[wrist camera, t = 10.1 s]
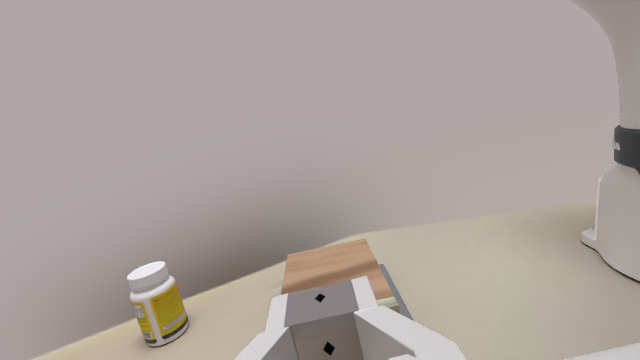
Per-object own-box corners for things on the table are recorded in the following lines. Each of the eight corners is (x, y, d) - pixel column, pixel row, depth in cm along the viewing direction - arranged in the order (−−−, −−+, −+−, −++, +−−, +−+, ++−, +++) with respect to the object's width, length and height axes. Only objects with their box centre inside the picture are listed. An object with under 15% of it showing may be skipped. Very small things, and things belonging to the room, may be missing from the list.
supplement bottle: (193, 315, 38) (174, 255, 36) (182, 340, 33) (160, 273, 32) (155, 325, 37) (134, 265, 36) (138, 353, 33) (113, 285, 31)
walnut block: (398, 305, 24) (365, 238, 37) (275, 330, 23) (287, 254, 37) (407, 358, 24) (371, 274, 38) (289, 383, 24) (296, 290, 38)
